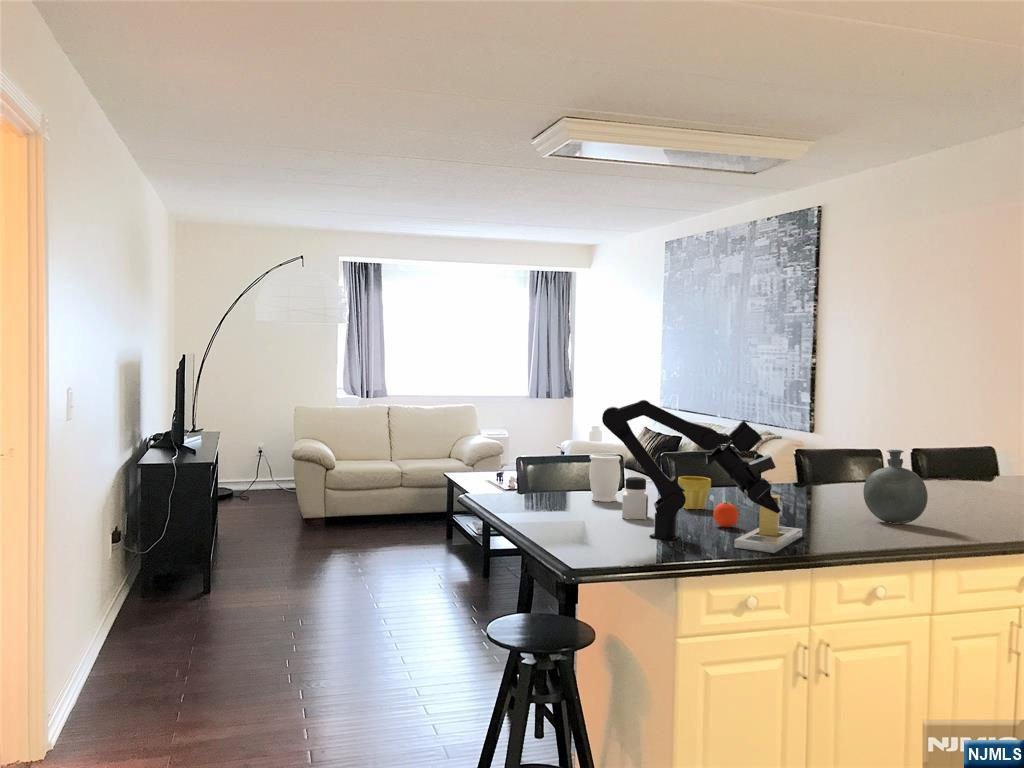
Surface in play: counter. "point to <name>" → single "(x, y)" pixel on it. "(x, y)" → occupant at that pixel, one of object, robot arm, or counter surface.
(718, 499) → the counter surface
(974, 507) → the counter surface
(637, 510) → the medicine bottle
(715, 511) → the tomato
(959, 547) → the counter surface
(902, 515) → the flask
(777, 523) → the yellow tall block
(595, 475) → the jar
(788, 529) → the white compartment tray
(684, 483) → the plant pot
